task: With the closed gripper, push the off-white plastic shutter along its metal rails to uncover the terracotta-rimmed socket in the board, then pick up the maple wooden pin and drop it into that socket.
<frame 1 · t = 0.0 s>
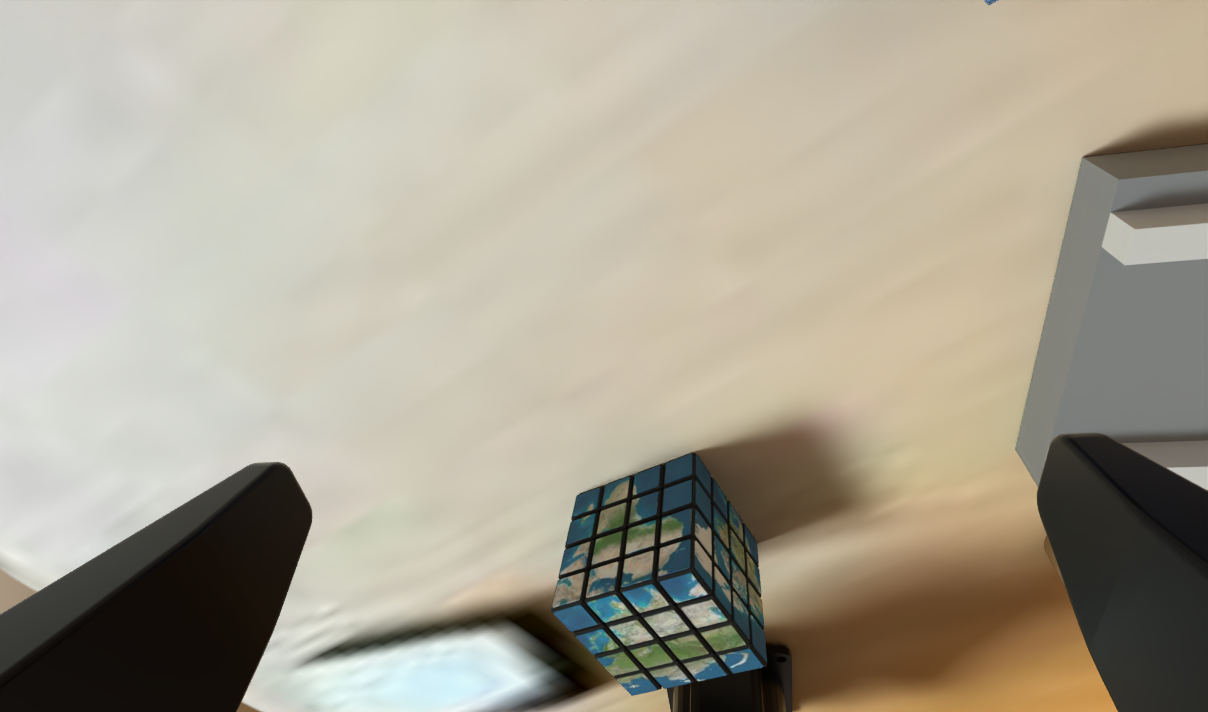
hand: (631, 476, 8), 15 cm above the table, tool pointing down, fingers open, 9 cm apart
puzzle: (666, 515, 29), on the table
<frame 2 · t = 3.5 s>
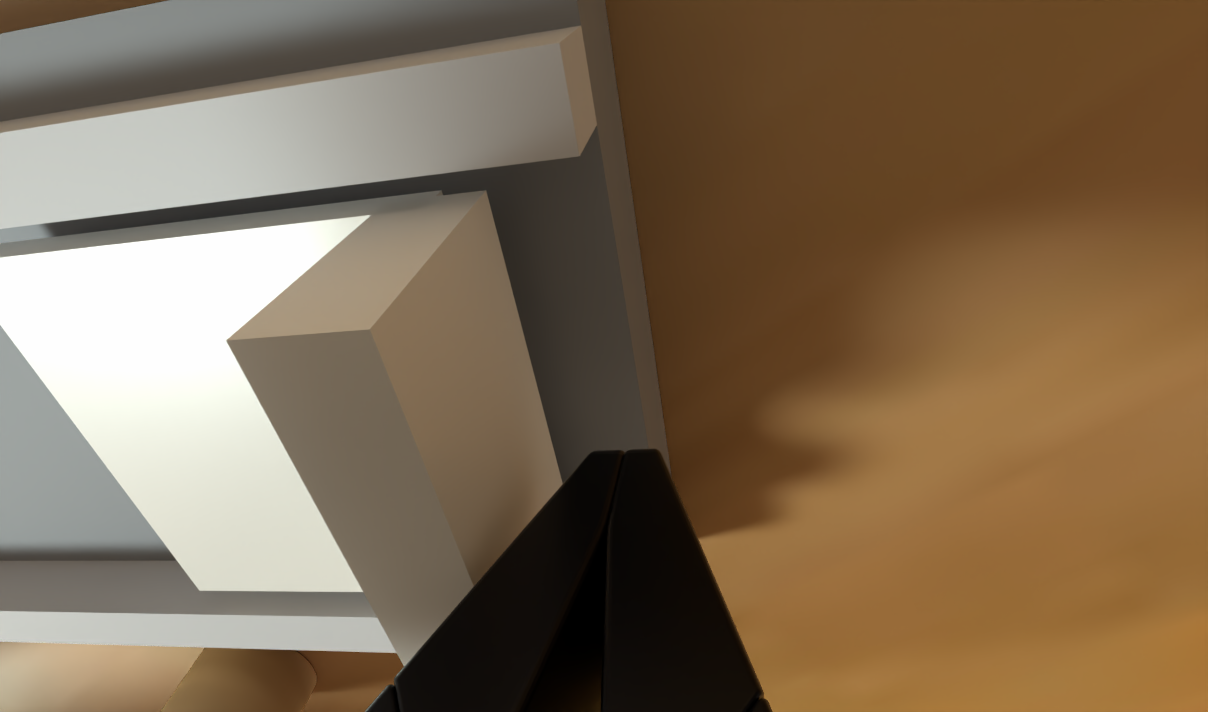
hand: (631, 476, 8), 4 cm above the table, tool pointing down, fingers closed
maple pin: (262, 664, 19), on the table
socket board: (230, 347, 12), on the table
shutter: (262, 497, 8), point 4 cm above the table, slide at 0.0 cm, touching gripper
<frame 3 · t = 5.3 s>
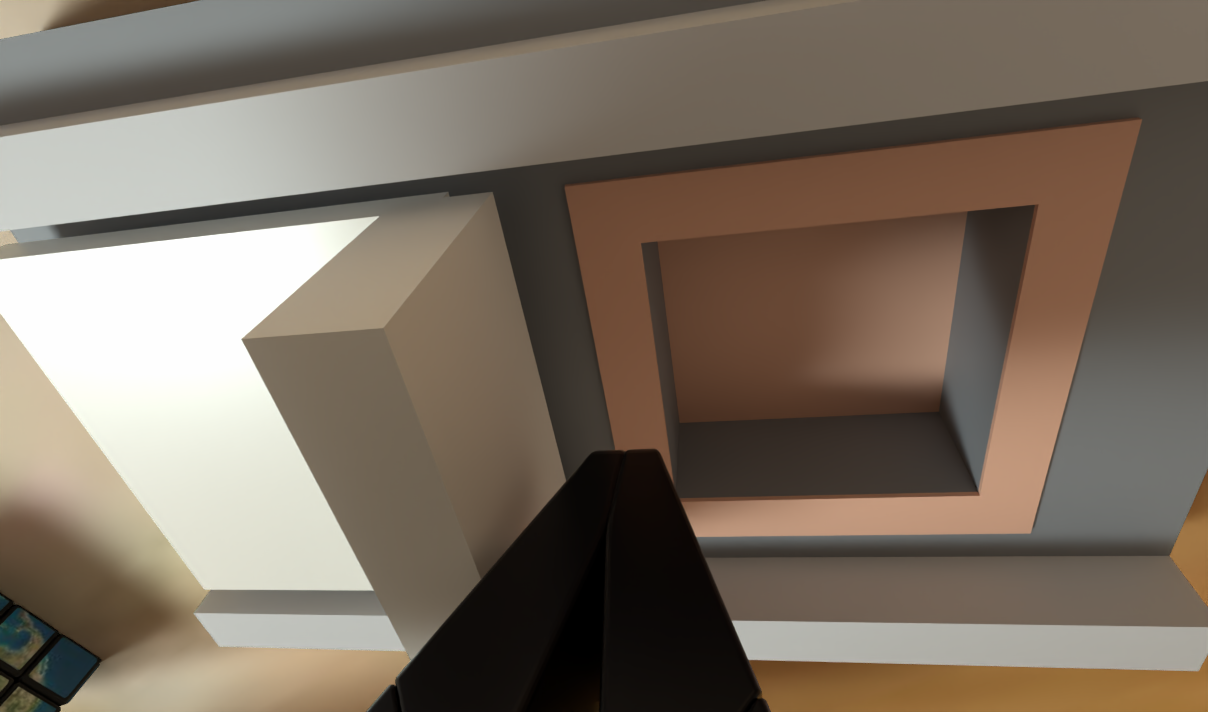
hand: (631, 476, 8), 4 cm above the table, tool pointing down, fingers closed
socket board: (619, 319, 11), on the table
shutter: (269, 496, 8), point 4 cm above the table, slide at 7.5 cm, touching gripper
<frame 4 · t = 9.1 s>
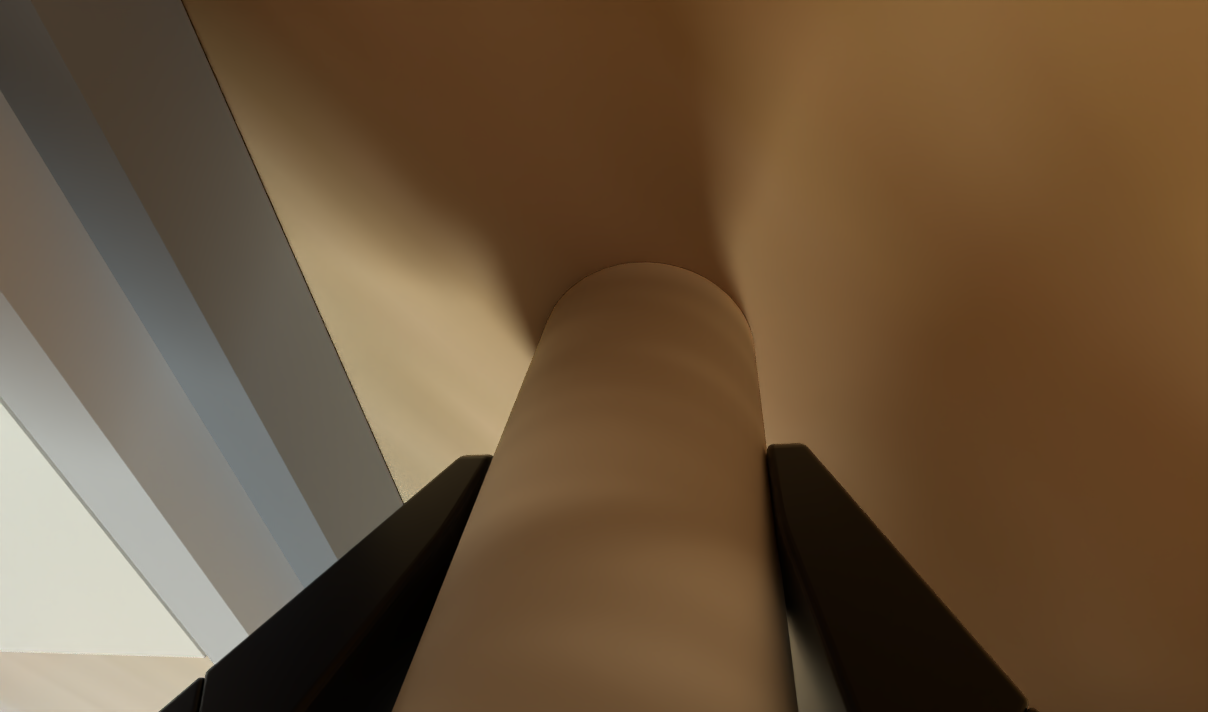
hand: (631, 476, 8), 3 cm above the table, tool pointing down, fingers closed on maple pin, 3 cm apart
maple pin: (646, 359, 10), on the table, touching gripper
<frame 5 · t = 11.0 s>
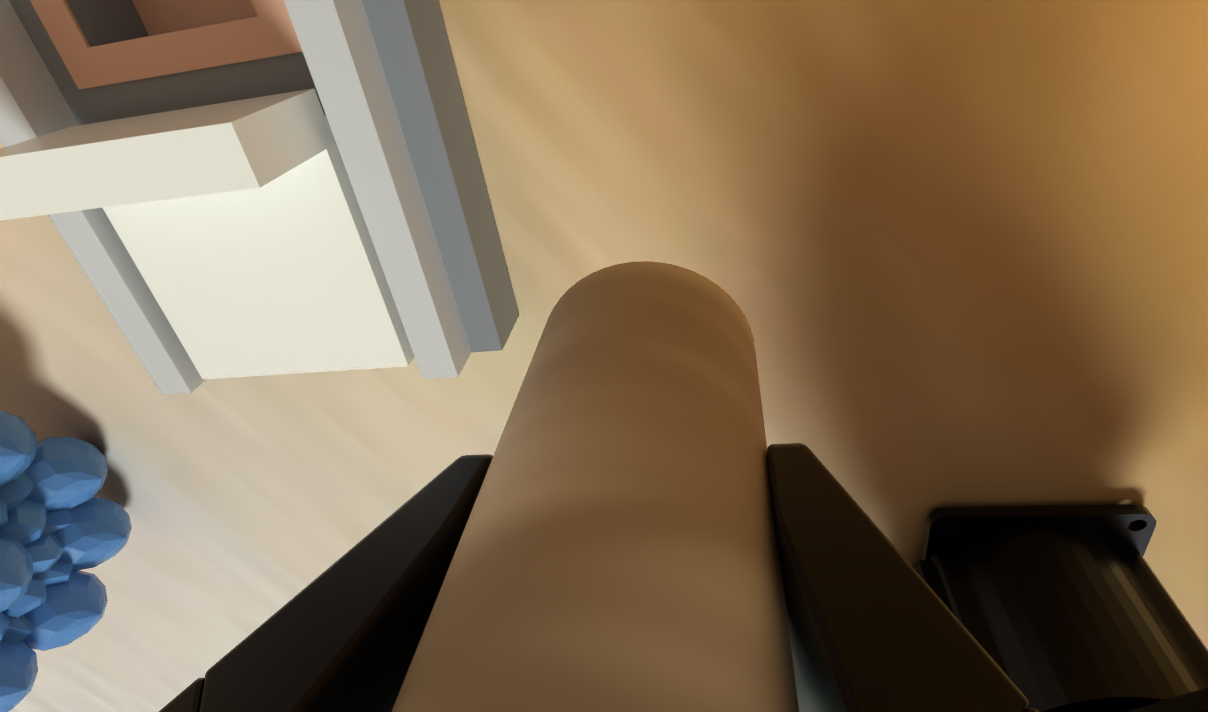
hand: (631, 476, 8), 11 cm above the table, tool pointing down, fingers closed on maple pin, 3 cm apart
grapes: (78, 446, 26), on the table
maple pin: (646, 358, 10), point 8 cm above the table, touching gripper
socket board: (241, 56, 17), on the table
shutter: (221, 275, 15), point 4 cm above the table, slide at 7.5 cm
when the fingers open (5 cm above the table, at t = 13.3 s): maple pin drops 3 cm, resting on socket board.
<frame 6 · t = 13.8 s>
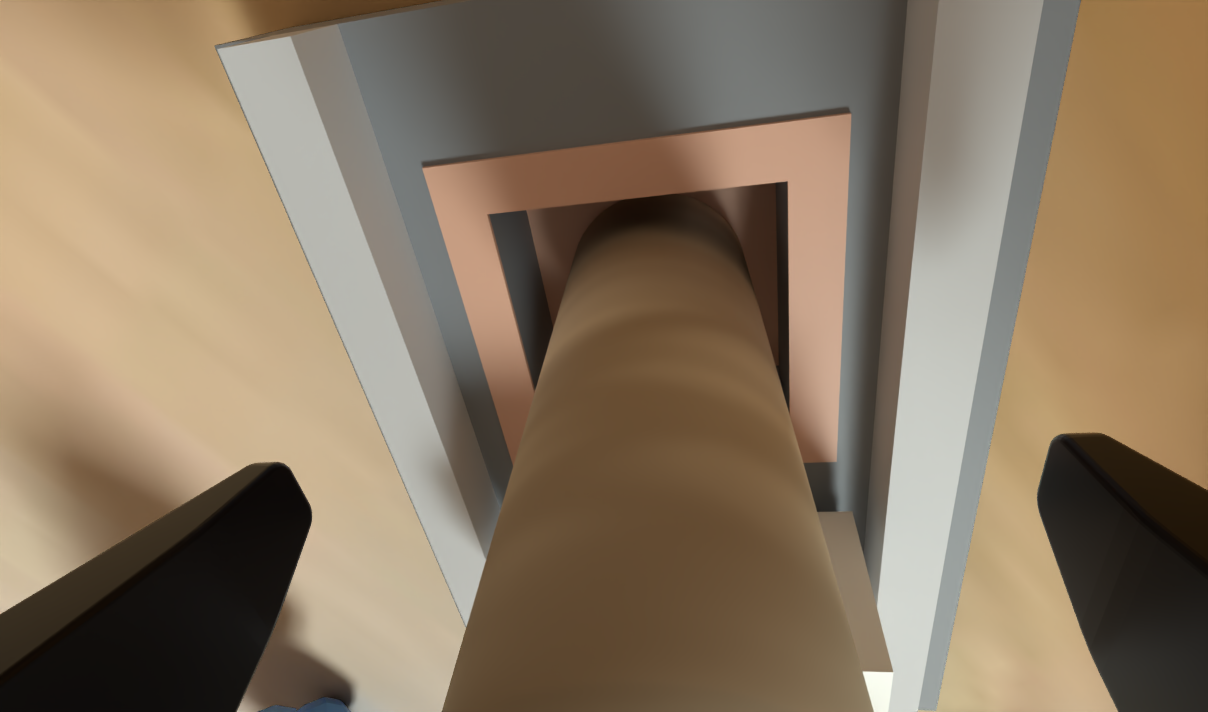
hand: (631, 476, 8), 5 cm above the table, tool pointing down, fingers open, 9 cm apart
grapes: (316, 695, 23), on the table
maple pin: (658, 276, 12), resting on socket board
socket board: (672, 400, 14), on the table
shutter: (686, 694, 13), point 4 cm above the table, slide at 7.5 cm
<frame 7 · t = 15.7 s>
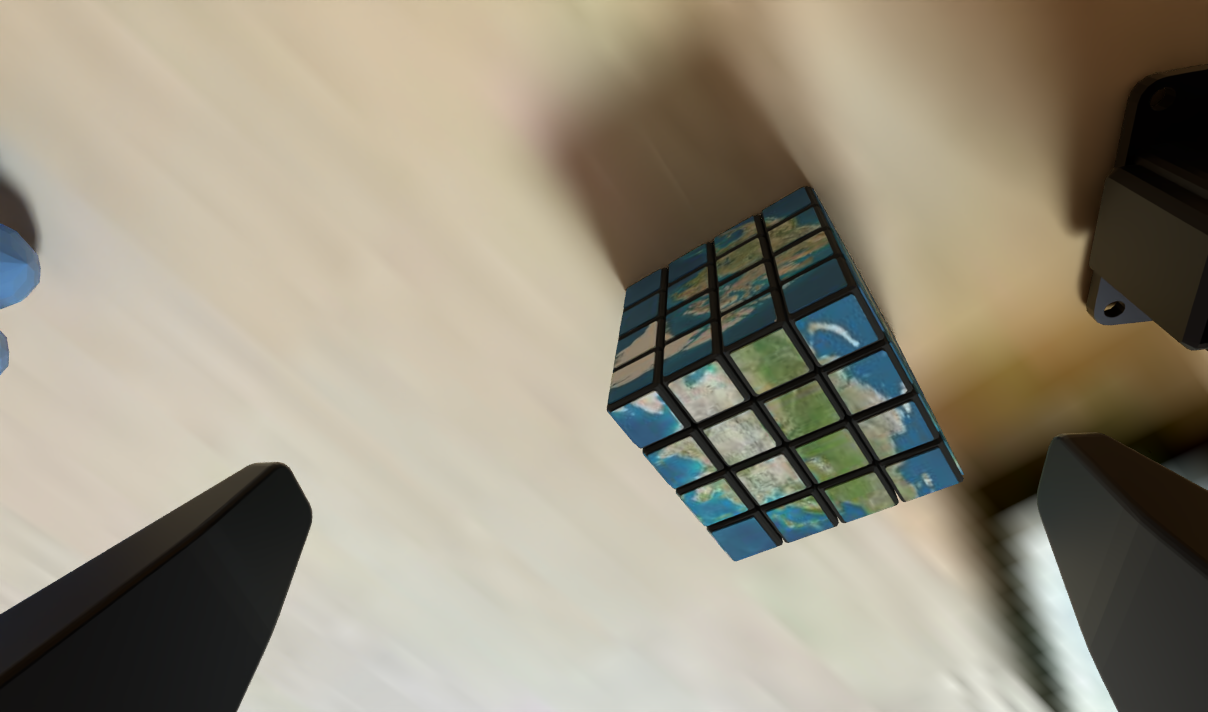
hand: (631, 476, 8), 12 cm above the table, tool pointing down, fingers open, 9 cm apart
puzzle: (760, 312, 20), on the table
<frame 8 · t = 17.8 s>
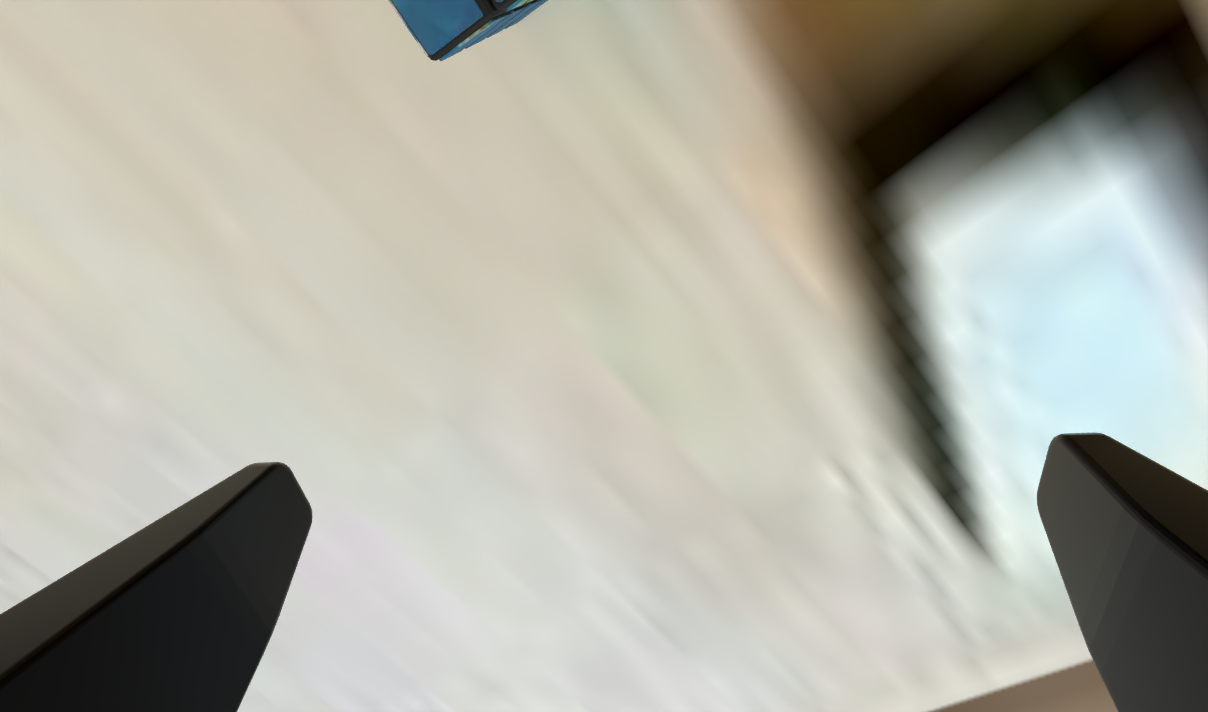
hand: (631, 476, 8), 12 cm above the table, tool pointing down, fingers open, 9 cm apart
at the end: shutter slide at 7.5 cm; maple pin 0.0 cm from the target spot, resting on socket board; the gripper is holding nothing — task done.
